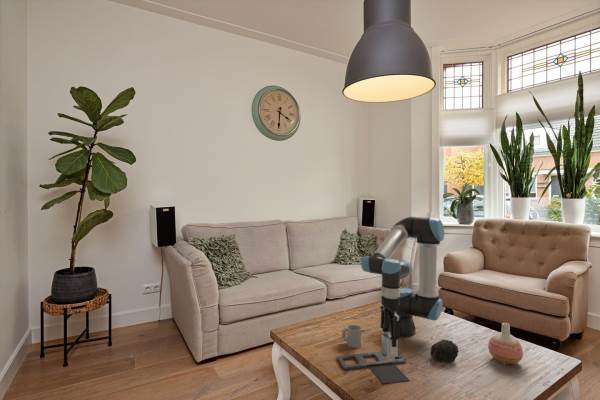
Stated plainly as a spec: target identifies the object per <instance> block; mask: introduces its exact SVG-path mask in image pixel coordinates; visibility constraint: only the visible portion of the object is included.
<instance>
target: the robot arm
mask: <svg viewBox="0 0 600 400" xmlns="http://www.w3.org/2000/svg"><path fill="white" fill-rule="evenodd" d="M444 228H445V227H444V224H443V222H442V220H441V219H440V218H435V217H424V216H408V217H405V218H402V219H400V220H399V221H398V222H396V223H395V224H394V225H393V226H392V227H391V228H390V233H389V234H388V235H387V236H386V237H385V239H384V240H383V241H382V243H381V244H380V245H379V246H378V247H377V249H376V250H375V251H374V252H373V254H371V256H370V255H368V256H367V255H365V256H363V257H362V259H361V263H360V264H361V265H360V267H361V269H362V271H363V272H365V273H366V272H367V273H370V274H374V275H375V274H376V275H381V290H380V292H381V298H380V299H381V305H380V328H381V329H382V332H383V333H382V334H385V333H391V338H389V339H390V354H396V342H397V339H398V340H400V339H401V337H410V336H414V335H415V334H416V333H417V331H416V330H417V329H416V328H417V327H416V325H415V322H414V319H413V316H414V317H418V318H421V319H425V320H427V321H428V320H429V321H433V322H434V321H437V320H438V319H439V318H440V316H441V314H442V311H443V304H444V302H443V299H442V298H440V294H439V293H438V292H437V259H438V258H437V251H438V250H437V248H438V246H440V244H441V242H442V241H444V237H445V229H444ZM411 238H412V239H416V244H417V245H418V246H419V249H418V250H419V253H418V254H419V255H418V256H419V257H418V258H419V261H418V289H417V290H416V291H415V293H414V290H413V289H412V288H401V280H402V279H405V278H407V277H408V276H409V275H410V274H411V273H412V270H413V267H412V265H411V263H410V262H409V261H407V259H399V260H398V259H393V258H391V257H393V255H394V254H395V252H396V251H397V249H398V248H399V247H400V245H401V244H402V242H404V241H406V240H407V239H411Z"/></svg>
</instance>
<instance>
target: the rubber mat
mask: <svg viewBox="0 0 600 400" xmlns="http://www.w3.org/2000/svg"><path fill="white" fill-rule="evenodd" d="M369 368H370V370H371V371H372V373H373V374H374V375H375V376H376V378H377V379H378V380H379V382H380V383H381V384H382V385H389V384H396V383H403V382H410V379H409V378H408V377H407V376H406V375H405V374H404V373H403V371H402V370H401V369H400V368H399V367H398V366H397V364H393V365H385V366H376V367H369Z"/></svg>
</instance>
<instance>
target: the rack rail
mask: <svg viewBox="0 0 600 400" xmlns="http://www.w3.org/2000/svg"><path fill="white" fill-rule="evenodd" d="M365 358H375V359H376V360H377V361H370V362H368V361H367V360H366V359H365ZM395 358H396V359H387V357H386V356H385V355H384V354H383V353H382V352H381V350H380V351H373V352H363V353H362V352H361V353H354V354H346V355H336V361H338V363H339V365H340V366H341V368H342V369H343V371H349V370H359V369H366V368H371V367H380V366H388V365H401V364H406V363H407V360H406V359H405V358H404V357H403V356H402V355H401V354H400V353H399V352H398V357H395ZM345 360H346V361H347V360H348V361H349V360H355V362H356V363H352V364H346V362H345Z"/></svg>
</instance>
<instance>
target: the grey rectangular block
mask: <svg viewBox="0 0 600 400" xmlns="http://www.w3.org/2000/svg"><path fill="white" fill-rule="evenodd" d="M389 338H391V333H385V334H383V333H381V346H380V347H381V350H380V351H381V352H382V353H383V354H384V355H385V356H384V357H385V358H386V359H387V358H396V357H398V353H399V348H398V347H399V339H397V342H396V354H390V339H389Z"/></svg>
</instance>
